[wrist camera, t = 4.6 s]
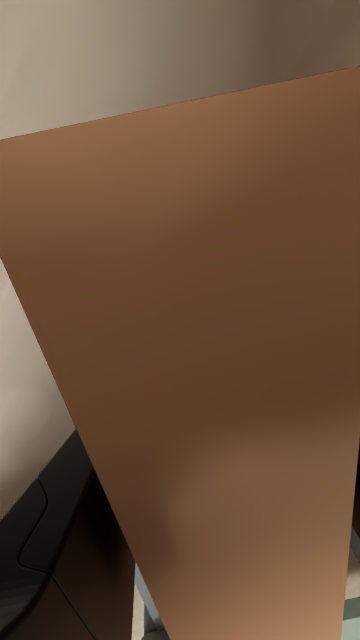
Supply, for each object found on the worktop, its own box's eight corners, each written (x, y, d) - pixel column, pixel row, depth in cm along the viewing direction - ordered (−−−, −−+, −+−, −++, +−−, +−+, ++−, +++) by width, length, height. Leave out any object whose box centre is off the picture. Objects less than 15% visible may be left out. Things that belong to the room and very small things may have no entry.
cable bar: (171, 494, 13) (185, 674, 8) (68, 153, 7) (-48, 148, 3) (272, 473, 13) (340, 643, 8) (243, 117, 7) (394, 58, 3)
